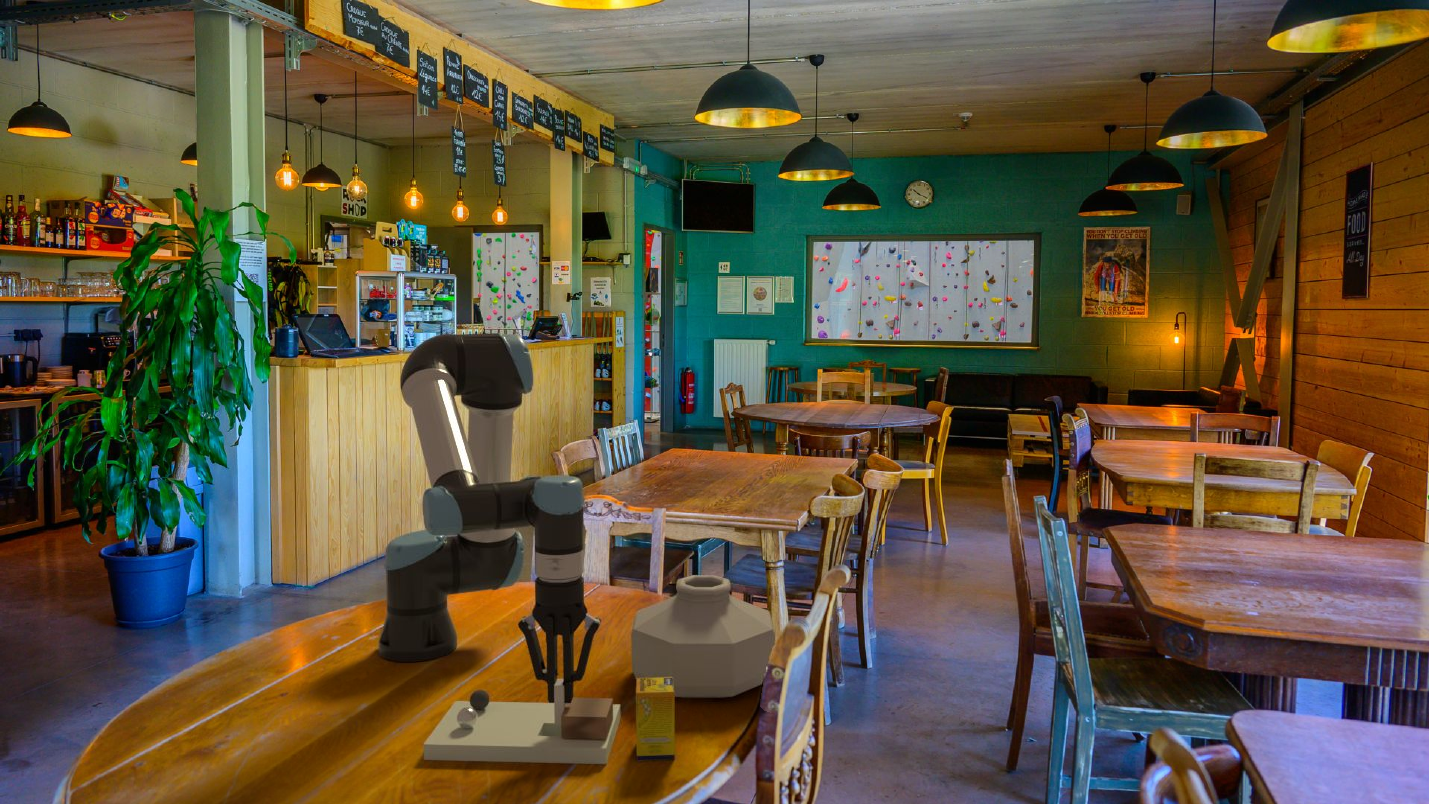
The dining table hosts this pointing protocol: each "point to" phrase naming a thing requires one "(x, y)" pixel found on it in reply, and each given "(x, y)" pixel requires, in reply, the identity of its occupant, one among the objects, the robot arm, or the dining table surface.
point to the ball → (467, 718)
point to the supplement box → (655, 718)
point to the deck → (514, 736)
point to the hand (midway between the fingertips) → (560, 721)
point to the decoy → (479, 699)
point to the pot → (703, 640)
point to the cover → (587, 718)
